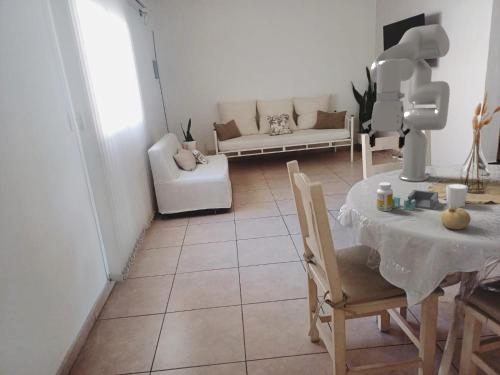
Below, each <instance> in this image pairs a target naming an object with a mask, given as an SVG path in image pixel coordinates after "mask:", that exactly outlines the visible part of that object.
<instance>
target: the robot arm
mask: <svg viewBox="0 0 500 375" xmlns="http://www.w3.org/2000/svg"><path fill="white" fill-rule="evenodd" d="M450 47H451V46H450V38H449V36H448V33H447V32H446V30H445V28H444V27H443V26H442V25H440V24H437V23H435V24H428V25H420V26H415V27H411V28H410V29H408V30H406V31H405V32H404V34H403V35H402V36H401V39H400V40H399V41H398V43H397V44H396V45H393V46H391V47H389V48H388V49H386V50H384V51H383V52H381V53H379V54H378V55H377V56H376V57H375V59H374V61H373V63H372V64H371V67H370V70H369V74H370V79H371V80H372V82H374V83H376V101H375V102H374V104H373V108H372V114H371V119H369V120H367V121H365V122H363V123H362V125H361V126H362V127H363V130H364V132H365V133H366V134H367V136H368V138H369V142H368V143H369V146H370V148H374V147H376V135H375V133H377V132H397V134H398V135H399V137H398V147H397V148H398V149H399V150H400V149H402V150H403V151H402V152H403V153H402V173H399V174H398V179H399V180H401V181H405V182H424V181H427V180H429V179H430V176H429V174H427V173H426V167H427V152H428V151H427V148H428V147H427V146H428V139H427V137H426V135H425V134H424V132H423V131H442V130H444V129H445V127H446V126H447V122H448V114H449V104H450V103H449V102H450V94H451V93H450V91H451V90H450V86H449V83H448V82H446V81H444V80H437V81H432V74H433V70H432V67H431V66H430V65H429V63H428V62H427V61H426V60H428V59H437V58H438V59H439V58H443V57H445V56H446V55H447V54H448V53H449V50H450ZM408 80H409V84H408V92H407V93H408V95H407V101H408V102H409V104H410V105H415V106H421V105H423V106H427V105H429V106H430V105H434V106H435V107H412V108H409V109H408V108H407V109H406V110H405V109H404V101H403V100H401V99H402V98H405V96H406V95H405V93H403V92H402V91H401V86H402V85H401V84H402V83H401V82H405V81H408ZM370 124H371V129H370V128H369V125H370Z"/></svg>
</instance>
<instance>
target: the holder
mask: <svg viewBox="0 0 500 375" xmlns="http://www.w3.org/2000/svg"><path fill="white" fill-rule="evenodd" d="M407 199H409V206H411V201H412V200H415V209H417V208H418V209H423V210H424V209H426V210H432V211H433V210H434V209H435V208H436V206H437V205H438V203H439V192H436V191H429V190H418V189H413V190H412V191H411V193H409V194H408V196H407Z"/></svg>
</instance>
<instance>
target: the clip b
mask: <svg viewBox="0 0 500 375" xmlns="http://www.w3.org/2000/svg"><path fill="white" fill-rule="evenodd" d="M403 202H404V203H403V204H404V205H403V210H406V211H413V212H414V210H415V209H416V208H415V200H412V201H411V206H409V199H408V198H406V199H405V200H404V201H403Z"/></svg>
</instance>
